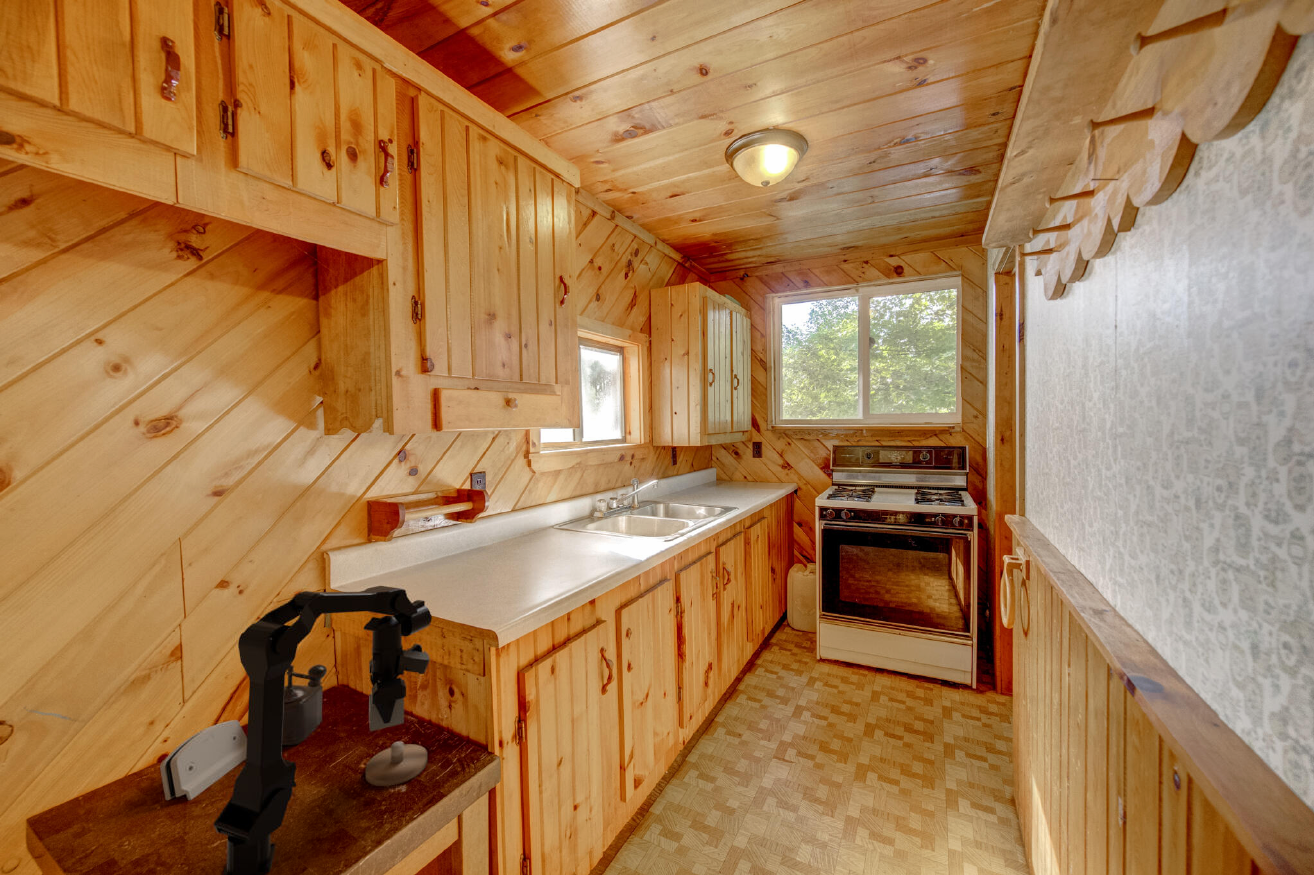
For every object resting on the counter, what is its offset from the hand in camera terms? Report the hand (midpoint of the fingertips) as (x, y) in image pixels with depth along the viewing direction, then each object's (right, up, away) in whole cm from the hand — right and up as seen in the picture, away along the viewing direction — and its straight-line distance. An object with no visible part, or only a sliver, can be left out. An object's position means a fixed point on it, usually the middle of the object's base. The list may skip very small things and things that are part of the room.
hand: (386, 715), depth 113 cm
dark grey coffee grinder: (-27, -11, +11) cm, 31 cm away
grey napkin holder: (-36, -11, -3) cm, 38 cm away
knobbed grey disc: (+3, -11, 0) cm, 11 cm away
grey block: (0, -1, 0) cm, 1 cm away
